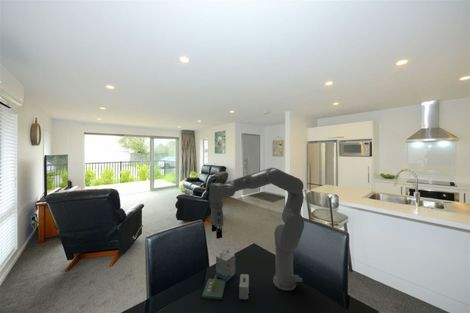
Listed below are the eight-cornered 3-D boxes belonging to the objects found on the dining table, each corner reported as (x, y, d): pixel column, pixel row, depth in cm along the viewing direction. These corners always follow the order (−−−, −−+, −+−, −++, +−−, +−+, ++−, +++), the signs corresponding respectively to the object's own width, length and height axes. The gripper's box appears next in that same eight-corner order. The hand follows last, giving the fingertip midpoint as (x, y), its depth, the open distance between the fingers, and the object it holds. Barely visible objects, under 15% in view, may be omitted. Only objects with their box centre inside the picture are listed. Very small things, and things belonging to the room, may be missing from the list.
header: (225, 282, 97) (225, 272, 97) (221, 299, 85) (221, 288, 85) (208, 280, 98) (208, 270, 98) (202, 297, 86) (201, 286, 86)
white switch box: (248, 285, 94) (248, 273, 94) (248, 299, 84) (248, 286, 84) (240, 284, 94) (240, 272, 94) (239, 298, 85) (239, 285, 85)
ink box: (226, 282, 97) (226, 258, 97) (215, 275, 102) (215, 253, 102) (235, 273, 103) (235, 251, 104) (225, 268, 109) (224, 247, 109)
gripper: (227, 207, 91) (228, 239, 91) (218, 200, 107) (218, 227, 107) (213, 209, 88) (214, 242, 88) (206, 201, 104) (206, 229, 104)
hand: (216, 234), depth 98 cm, fingers open, 9 cm apart
